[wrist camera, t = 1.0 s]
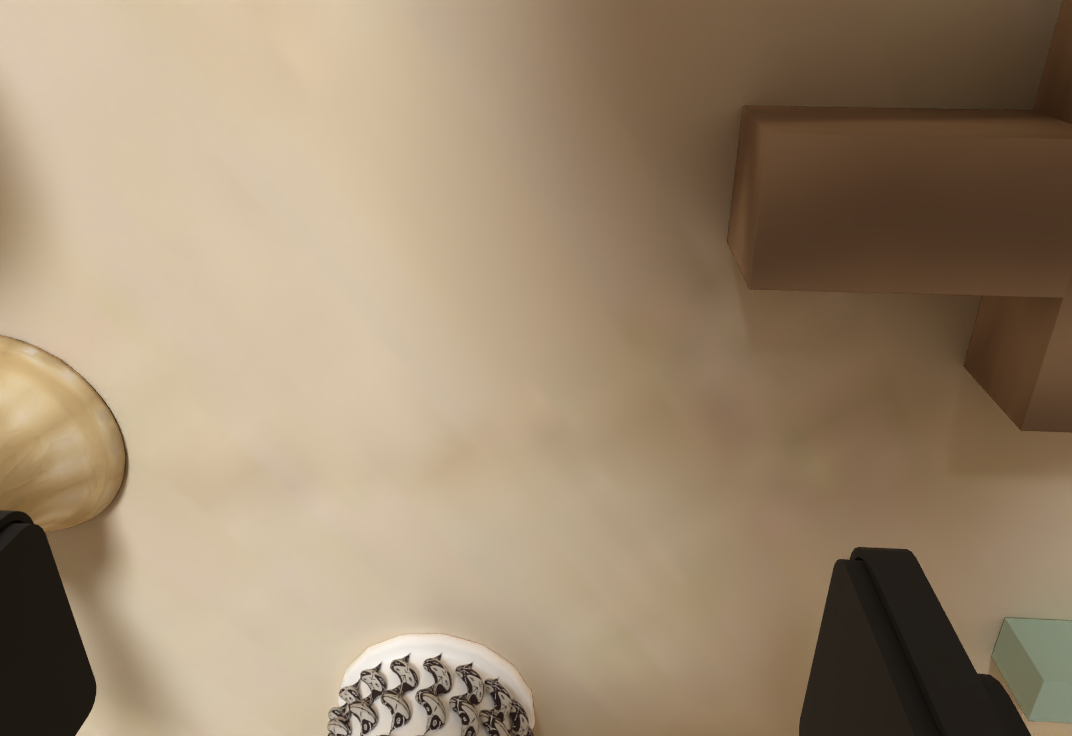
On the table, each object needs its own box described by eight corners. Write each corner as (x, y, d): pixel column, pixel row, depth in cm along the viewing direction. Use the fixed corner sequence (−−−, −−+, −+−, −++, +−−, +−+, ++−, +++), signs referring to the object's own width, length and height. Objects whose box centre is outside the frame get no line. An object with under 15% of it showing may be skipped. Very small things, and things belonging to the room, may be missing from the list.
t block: (760, -53, 21) (794, -53, 18) (1238, -51, 21) (1373, -51, 17) (713, 358, 27) (731, 420, 23) (1091, 370, 26) (1169, 435, 23)
